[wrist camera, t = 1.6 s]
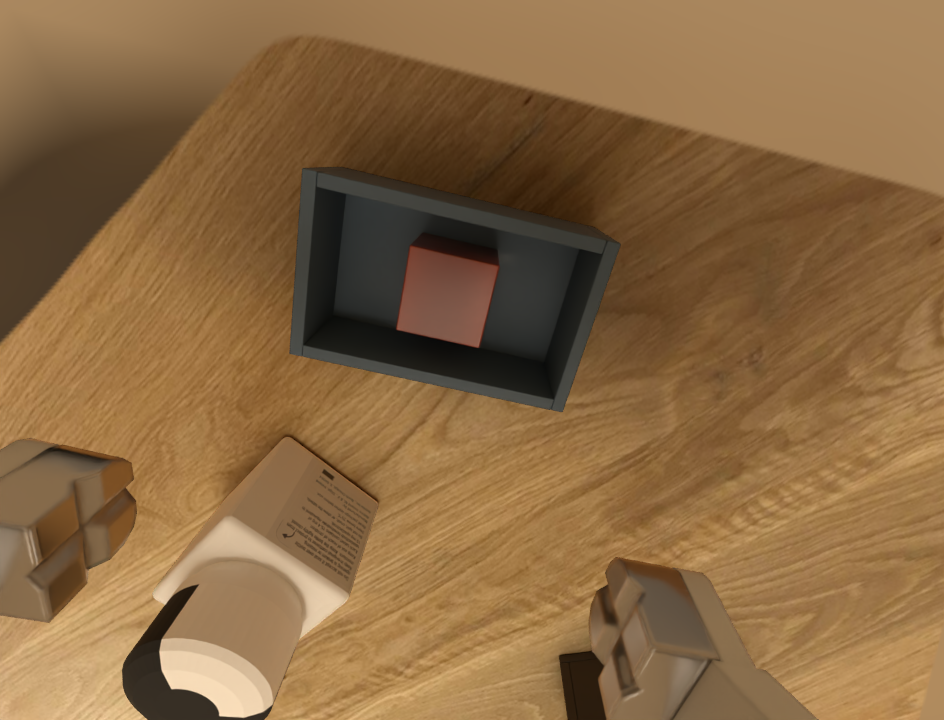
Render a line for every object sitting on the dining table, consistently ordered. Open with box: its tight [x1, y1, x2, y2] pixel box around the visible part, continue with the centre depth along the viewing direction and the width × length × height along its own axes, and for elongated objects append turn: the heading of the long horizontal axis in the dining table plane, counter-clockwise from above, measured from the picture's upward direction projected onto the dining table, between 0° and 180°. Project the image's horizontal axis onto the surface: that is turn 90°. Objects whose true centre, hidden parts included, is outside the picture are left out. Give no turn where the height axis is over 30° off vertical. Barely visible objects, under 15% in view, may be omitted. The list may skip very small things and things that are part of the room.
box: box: [290, 167, 620, 412], centre depth 23 cm, size 13×8×5 cm, turn 77°
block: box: [396, 232, 500, 348], centre depth 23 cm, size 4×4×4 cm
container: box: [122, 437, 378, 720], centre depth 25 cm, size 8×8×13 cm
